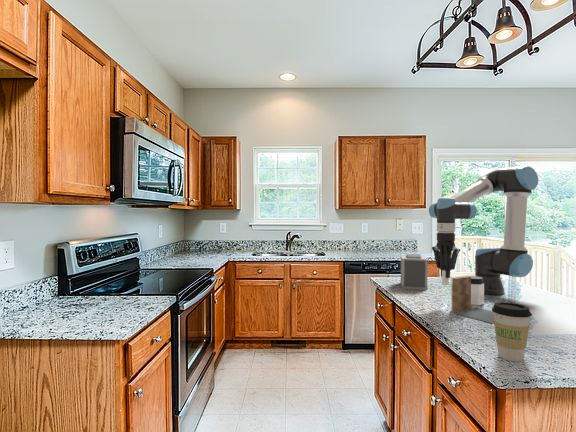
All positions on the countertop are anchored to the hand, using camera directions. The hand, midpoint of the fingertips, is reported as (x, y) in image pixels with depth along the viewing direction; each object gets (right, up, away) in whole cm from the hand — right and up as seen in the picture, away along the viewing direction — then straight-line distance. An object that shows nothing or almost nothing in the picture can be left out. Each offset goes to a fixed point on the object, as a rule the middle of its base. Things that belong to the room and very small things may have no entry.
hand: (445, 284), depth 160 cm
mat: (+9, -10, -15) cm, 20 cm away
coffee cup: (-6, -10, -57) cm, 58 cm away
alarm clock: (0, -9, +41) cm, 42 cm away
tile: (+4, -10, -7) cm, 12 cm away
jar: (+15, -10, +5) cm, 18 cm away
